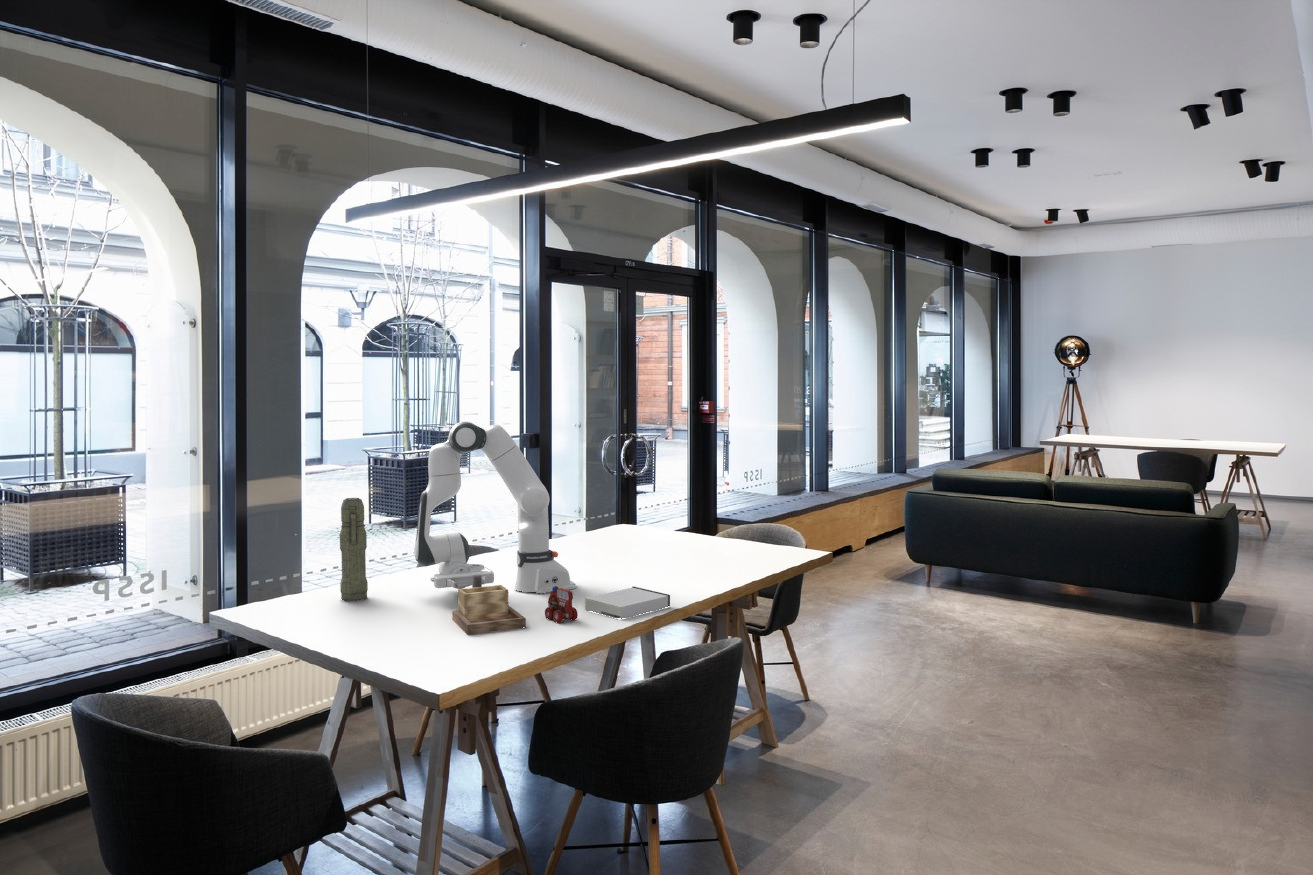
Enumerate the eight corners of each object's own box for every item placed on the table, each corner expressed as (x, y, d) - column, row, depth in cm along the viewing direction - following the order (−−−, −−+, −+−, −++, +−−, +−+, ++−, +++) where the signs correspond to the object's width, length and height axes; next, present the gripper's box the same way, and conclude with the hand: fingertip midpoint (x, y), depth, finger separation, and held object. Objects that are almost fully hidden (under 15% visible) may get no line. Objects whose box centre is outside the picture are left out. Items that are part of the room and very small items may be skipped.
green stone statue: (343, 603, 305) (341, 501, 303) (338, 596, 316) (336, 497, 314) (370, 600, 309) (368, 499, 307) (364, 593, 320) (362, 496, 318)
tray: (507, 613, 292) (507, 604, 292) (525, 627, 275) (525, 617, 275) (452, 619, 284) (452, 610, 284) (467, 634, 267) (467, 624, 267)
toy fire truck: (559, 614, 292) (559, 582, 291) (580, 622, 282) (580, 589, 281) (541, 617, 287) (540, 585, 287) (562, 625, 278) (561, 592, 277)
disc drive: (670, 609, 300) (670, 594, 300) (621, 621, 284) (621, 606, 284) (633, 600, 312) (633, 586, 312) (584, 612, 296) (584, 597, 296)
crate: (496, 605, 296) (496, 572, 295) (508, 614, 284) (508, 580, 284) (454, 610, 290) (454, 576, 289) (464, 619, 278) (464, 584, 278)
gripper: (428, 569, 308) (438, 576, 296) (487, 564, 317) (498, 571, 305) (429, 587, 308) (438, 595, 296) (487, 581, 317) (498, 589, 305)
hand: (469, 583), depth 300 cm, fingers open, 8 cm apart
